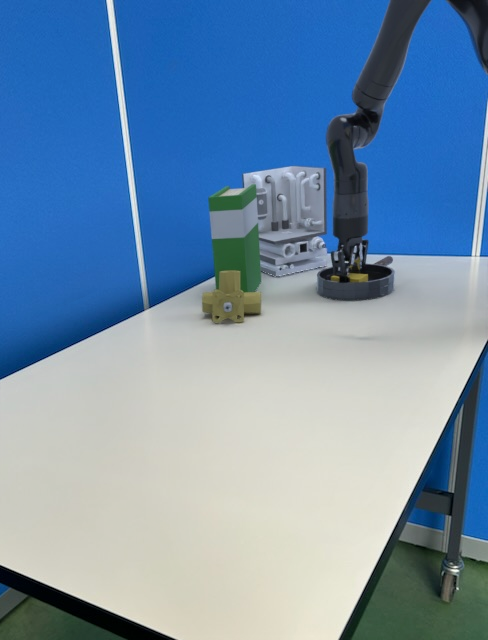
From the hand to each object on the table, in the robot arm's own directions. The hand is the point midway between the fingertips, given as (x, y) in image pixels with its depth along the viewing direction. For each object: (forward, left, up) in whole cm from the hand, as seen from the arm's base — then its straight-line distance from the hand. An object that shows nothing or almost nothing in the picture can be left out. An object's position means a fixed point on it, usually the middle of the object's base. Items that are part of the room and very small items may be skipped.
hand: (349, 289), depth 143 cm
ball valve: (+15, +25, -1) cm, 30 cm away
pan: (0, -3, -1) cm, 3 cm away
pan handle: (0, -16, +1) cm, 16 cm away
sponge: (0, 0, 0) cm, 0 cm away
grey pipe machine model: (+27, -17, -1) cm, 32 cm away
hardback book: (+25, +8, -1) cm, 26 cm away
